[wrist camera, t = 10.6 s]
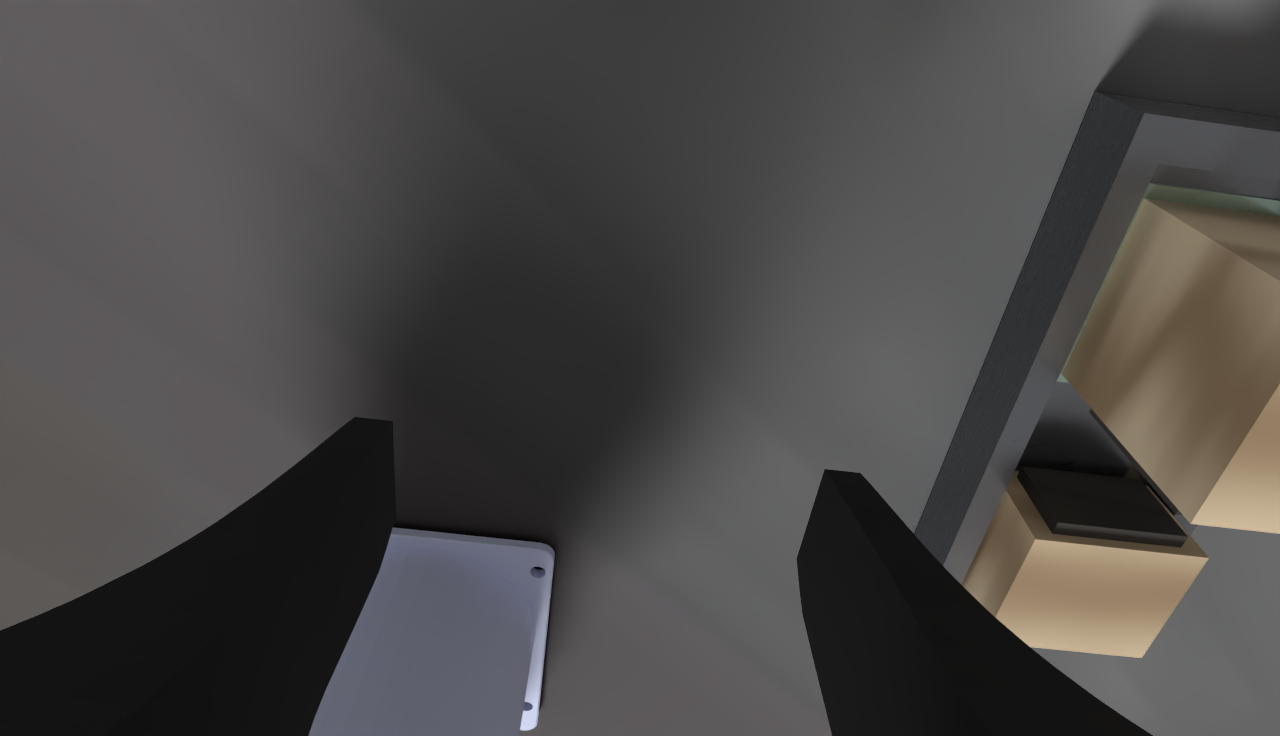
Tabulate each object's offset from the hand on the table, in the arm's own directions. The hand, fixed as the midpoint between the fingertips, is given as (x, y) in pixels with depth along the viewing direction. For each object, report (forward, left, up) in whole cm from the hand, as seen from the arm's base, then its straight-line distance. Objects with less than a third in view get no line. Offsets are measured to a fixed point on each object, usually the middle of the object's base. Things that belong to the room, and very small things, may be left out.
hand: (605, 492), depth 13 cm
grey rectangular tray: (-2, -14, -9) cm, 17 cm away
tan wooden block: (+1, -14, -8) cm, 16 cm away
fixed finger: (-6, -14, -8) cm, 18 cm away
